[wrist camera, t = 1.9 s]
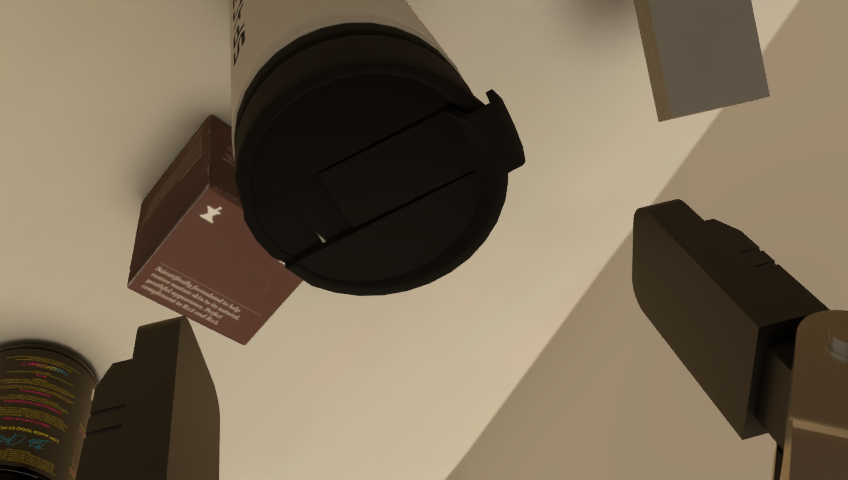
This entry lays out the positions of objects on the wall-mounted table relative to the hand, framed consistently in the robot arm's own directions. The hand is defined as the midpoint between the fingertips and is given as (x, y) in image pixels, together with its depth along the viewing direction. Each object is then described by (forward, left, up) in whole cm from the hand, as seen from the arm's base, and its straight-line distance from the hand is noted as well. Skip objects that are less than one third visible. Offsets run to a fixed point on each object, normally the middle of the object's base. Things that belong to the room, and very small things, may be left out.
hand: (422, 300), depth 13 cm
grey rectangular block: (+2, +14, -16) cm, 21 cm away
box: (+9, -6, -24) cm, 26 cm away
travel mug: (0, 0, -24) cm, 24 cm away
